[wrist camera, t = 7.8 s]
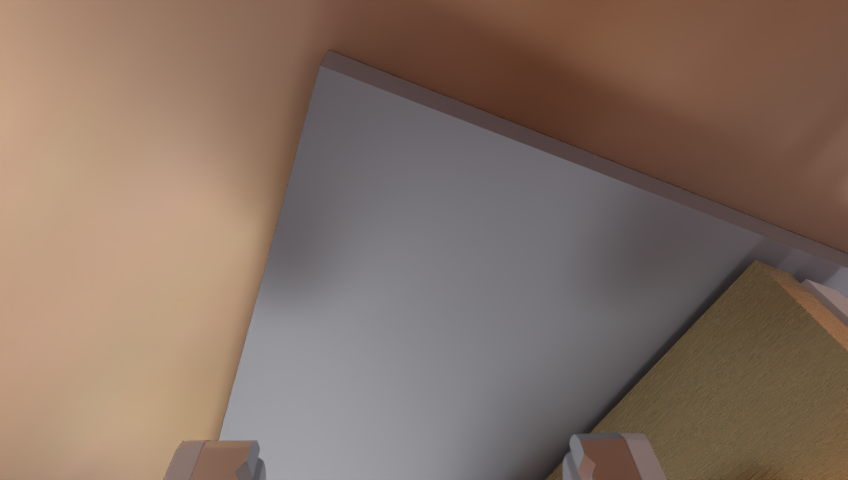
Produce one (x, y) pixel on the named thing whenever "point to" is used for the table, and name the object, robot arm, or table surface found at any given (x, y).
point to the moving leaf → (747, 389)
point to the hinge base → (471, 289)
